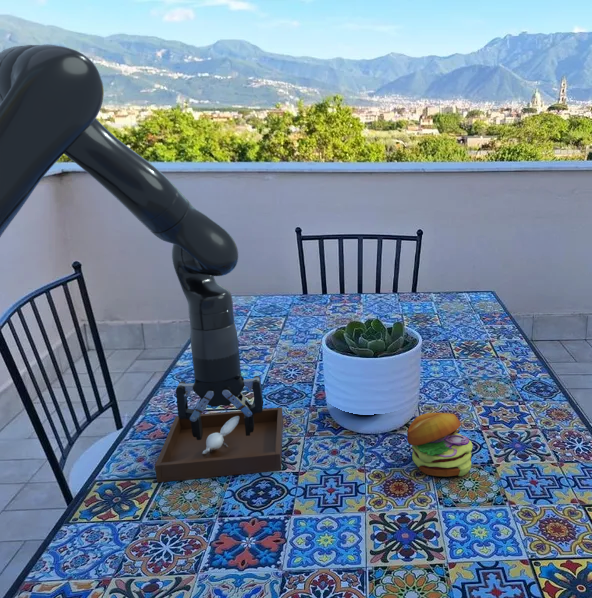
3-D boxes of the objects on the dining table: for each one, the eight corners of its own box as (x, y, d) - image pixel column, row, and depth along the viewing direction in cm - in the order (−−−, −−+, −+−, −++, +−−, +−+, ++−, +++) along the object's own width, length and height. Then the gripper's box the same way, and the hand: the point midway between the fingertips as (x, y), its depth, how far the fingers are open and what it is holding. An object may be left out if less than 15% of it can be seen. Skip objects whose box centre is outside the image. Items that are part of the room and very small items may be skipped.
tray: (157, 482, 90) (154, 465, 89) (177, 430, 106) (175, 416, 105) (281, 470, 93) (279, 453, 92) (283, 421, 109) (282, 407, 108)
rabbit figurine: (193, 450, 98) (224, 415, 103) (210, 465, 99) (240, 429, 103) (200, 446, 93) (233, 410, 98) (218, 462, 94) (250, 425, 98)
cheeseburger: (450, 491, 87) (438, 430, 86) (400, 479, 94) (388, 423, 93) (487, 462, 94) (476, 406, 93) (438, 453, 101) (427, 401, 100)
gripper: (165, 360, 89) (177, 451, 94) (257, 354, 92) (264, 443, 96) (175, 343, 97) (186, 428, 101) (260, 338, 99) (266, 421, 103)
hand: (224, 435), depth 99 cm, fingers open, 8 cm apart
